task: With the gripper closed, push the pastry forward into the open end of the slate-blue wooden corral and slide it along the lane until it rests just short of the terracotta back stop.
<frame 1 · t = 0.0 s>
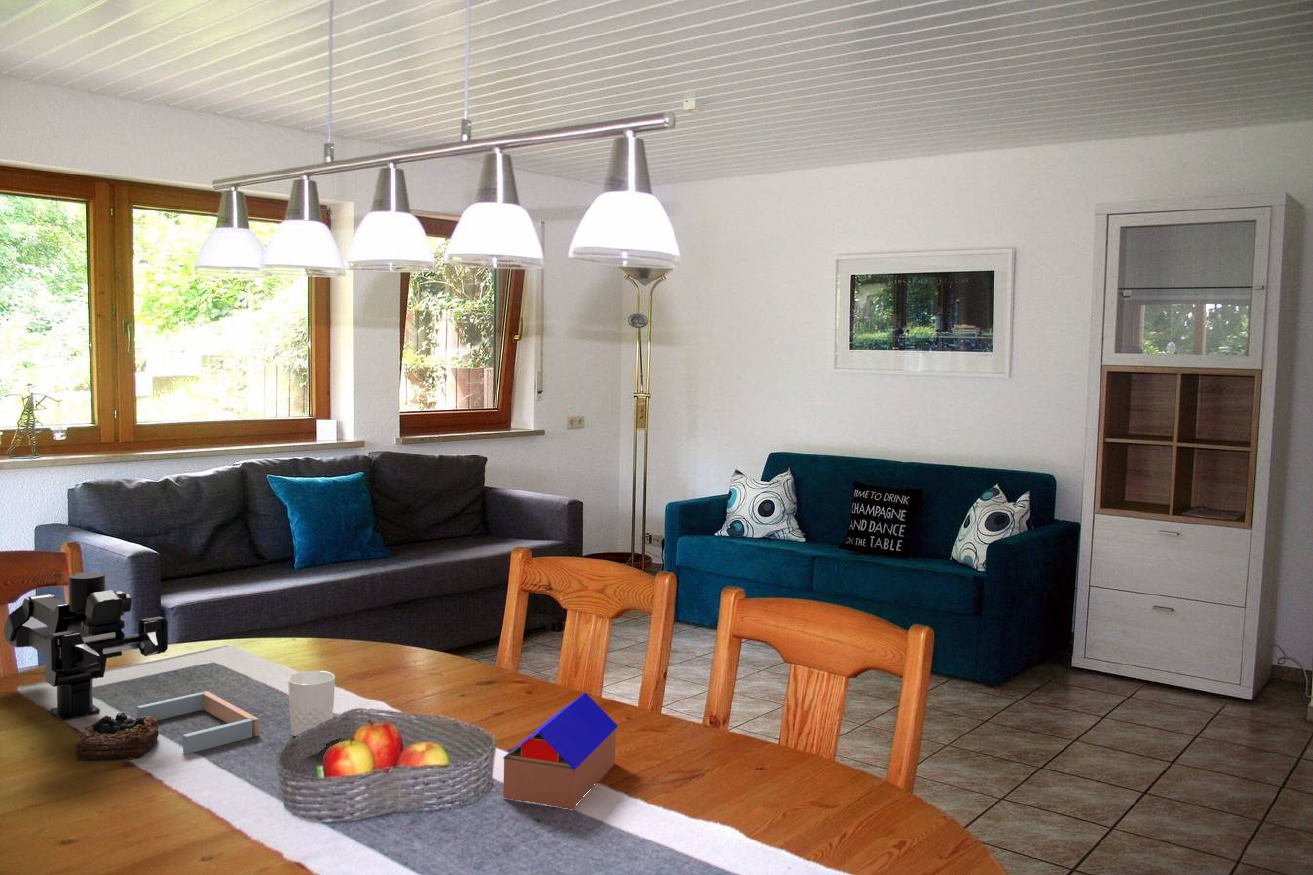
hand: (128, 653, 172), 17 cm above the table, tool horizontal, fingers open, 9 cm apart
white cup: (311, 733, 184), on the table
corral: (195, 729, 183), on the table
house: (561, 783, 166), on the table
pastry: (117, 751, 174), on the table
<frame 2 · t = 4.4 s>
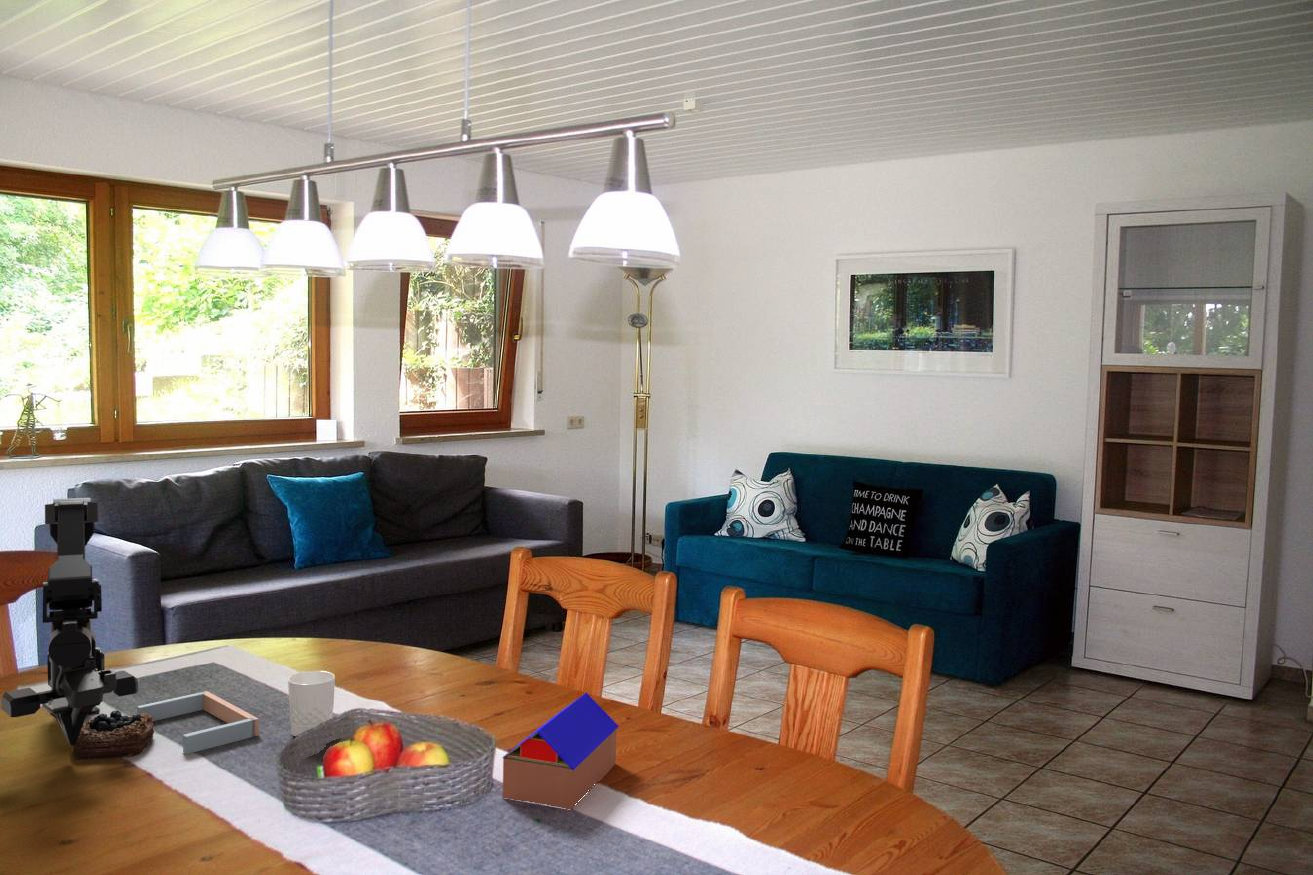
hand: (71, 744, 168), 3 cm above the table, tool pointing down, fingers closed
pastry: (113, 748, 174), on the table, touching gripper
everything else where it was.
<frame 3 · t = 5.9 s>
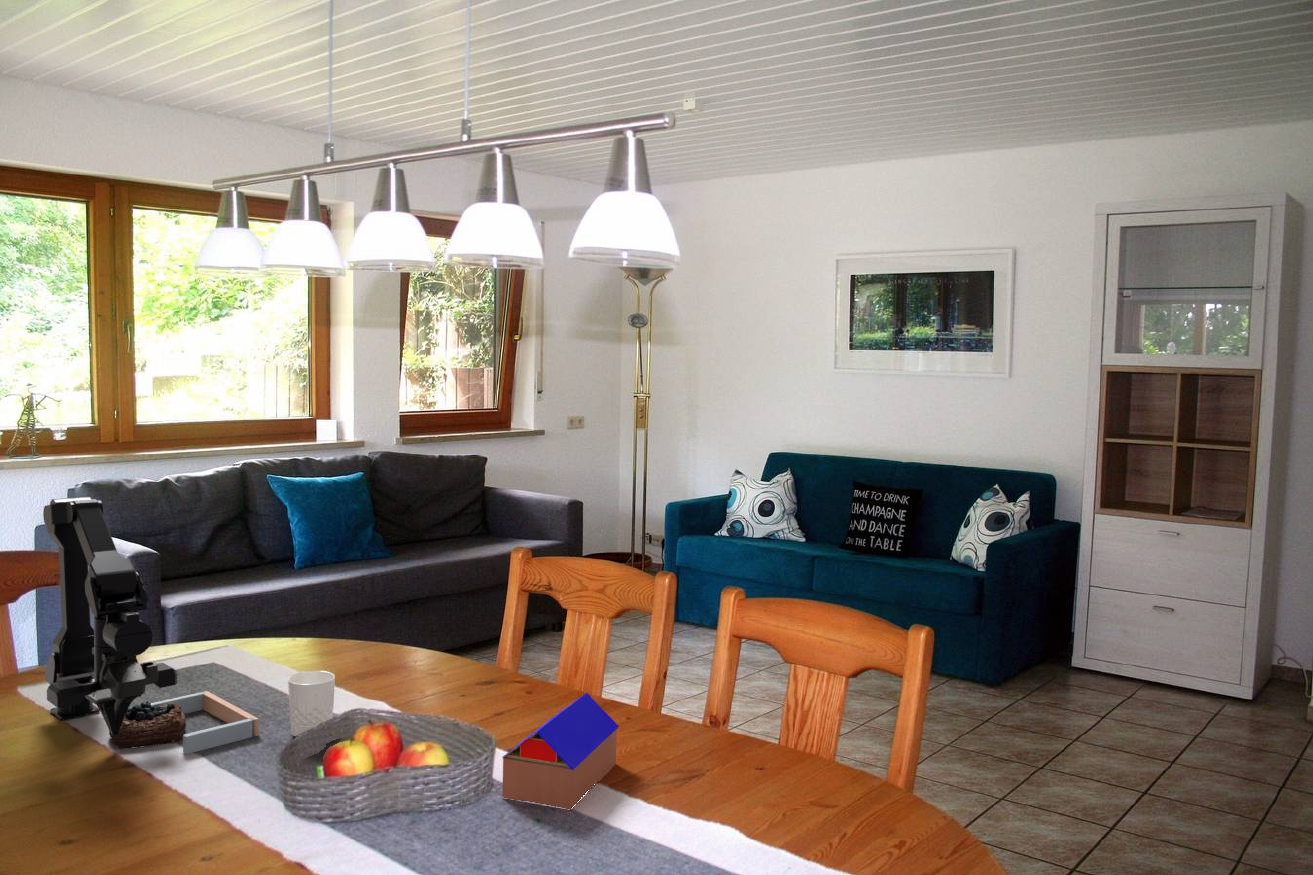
hand: (114, 734, 173), 3 cm above the table, tool pointing down, fingers closed
pastry: (148, 737, 180), on the table
everything else where it was.
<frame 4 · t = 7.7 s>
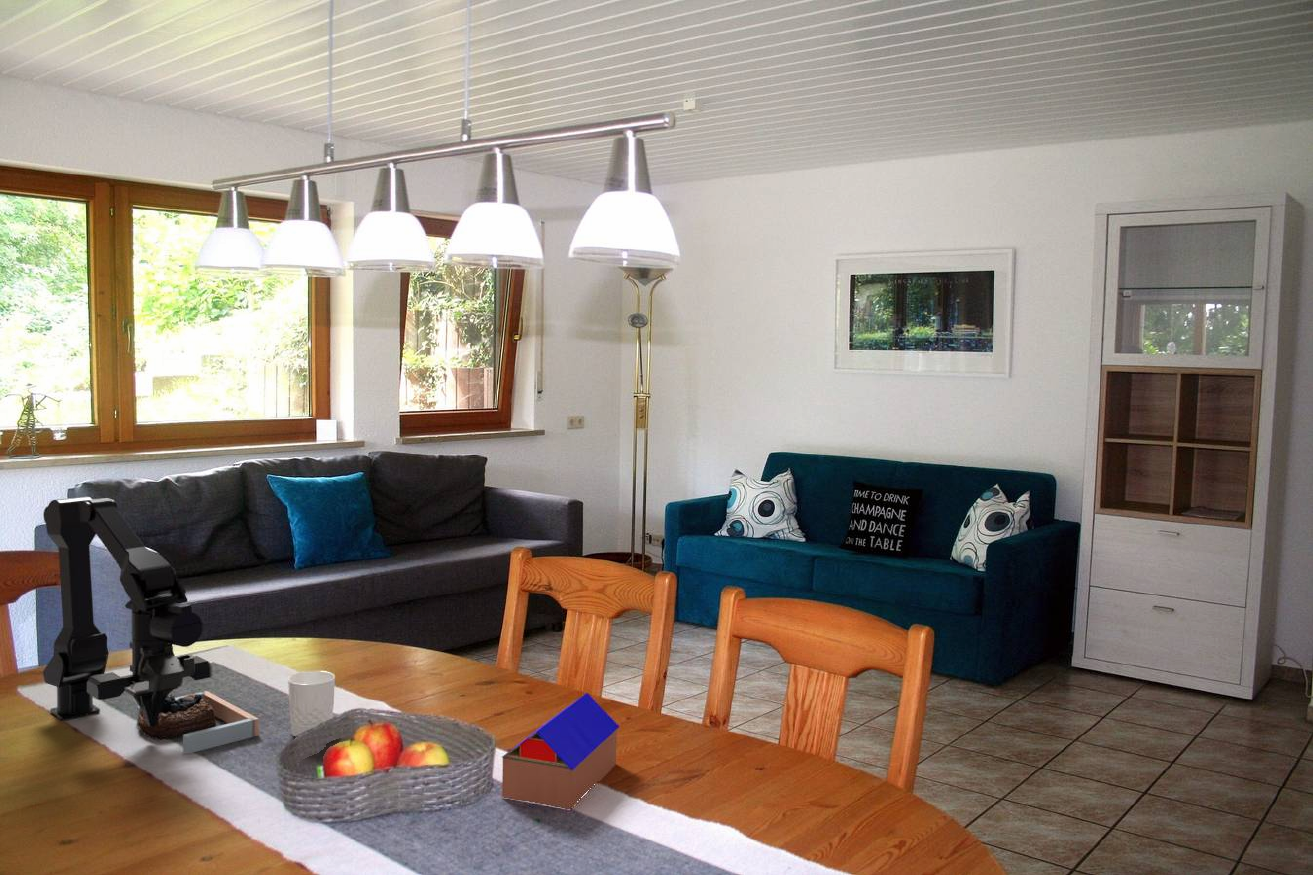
hand: (151, 725, 177), 3 cm above the table, tool pointing down, fingers closed
pastry: (177, 729, 184), on the table, touching gripper
everything else where it was.
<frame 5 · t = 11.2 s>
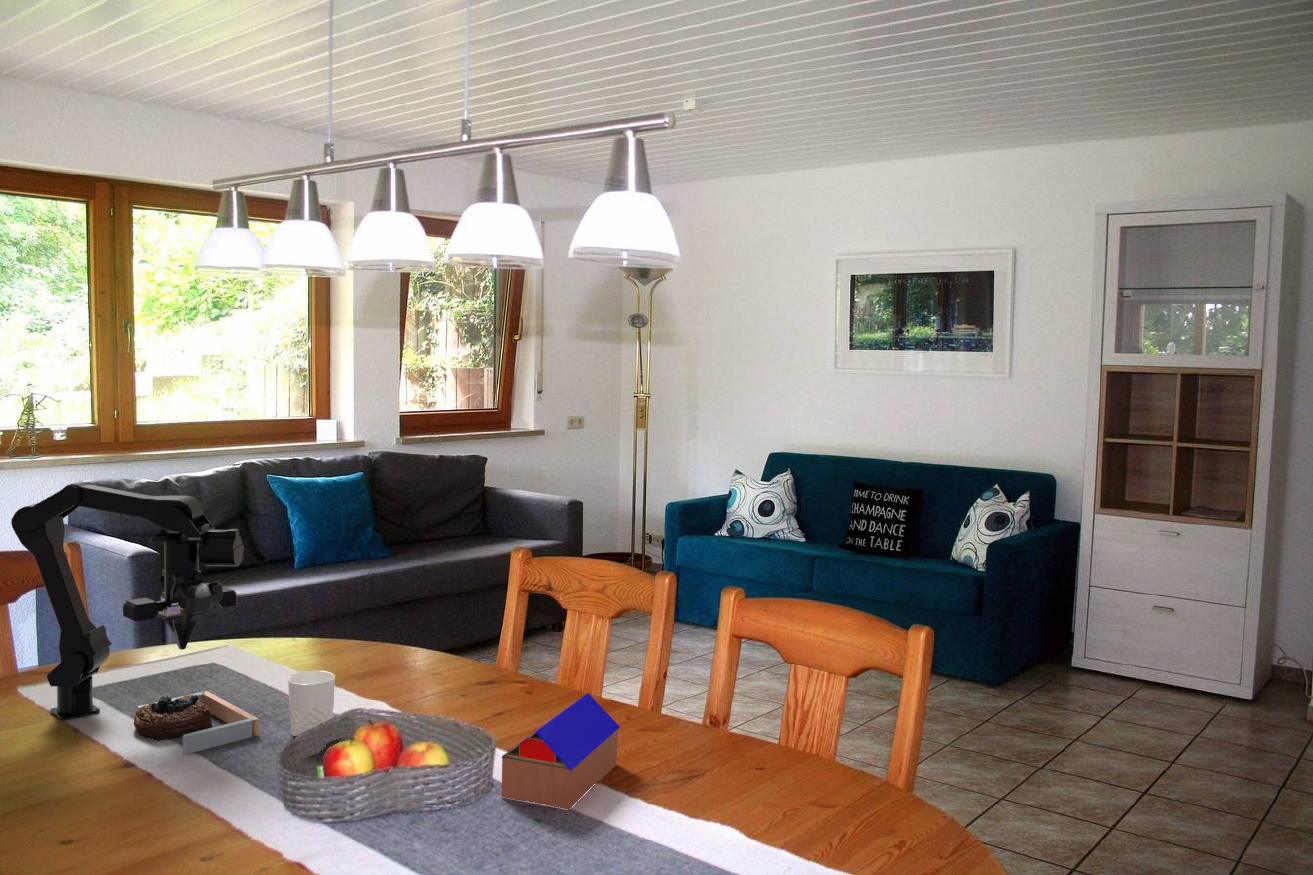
hand: (182, 648, 191), 12 cm above the table, tool pointing down, fingers closed
pastry: (173, 730, 184), on the table
everything else where it was.
at the end: pastry inside the target area (4.0 cm from its centre), on the table; pastry moved 11.1 cm from its start; the gripper is holding nothing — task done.
